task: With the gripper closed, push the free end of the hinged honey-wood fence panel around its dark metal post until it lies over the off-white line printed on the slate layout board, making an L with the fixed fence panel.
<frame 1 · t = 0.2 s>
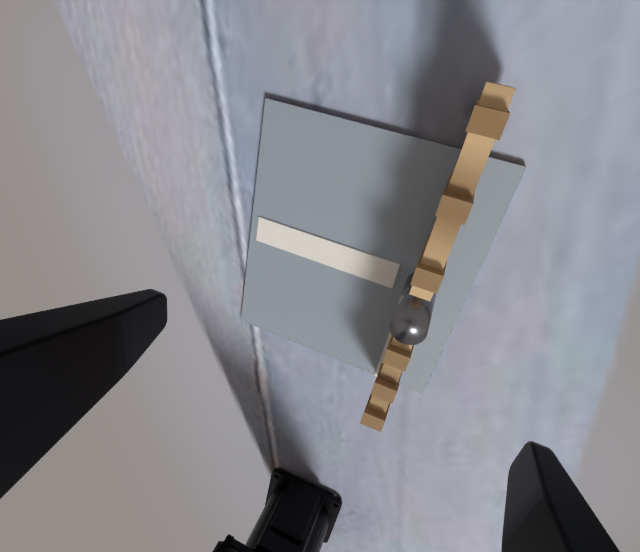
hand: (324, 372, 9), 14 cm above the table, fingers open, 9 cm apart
fence fixed: (400, 339, 25), resting on layout card
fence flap: (457, 196, 17), point 3 cm above the table, hinge at 0.0°
hinge post: (422, 282, 23), resting on layout card
layout card: (353, 258, 24), on the table
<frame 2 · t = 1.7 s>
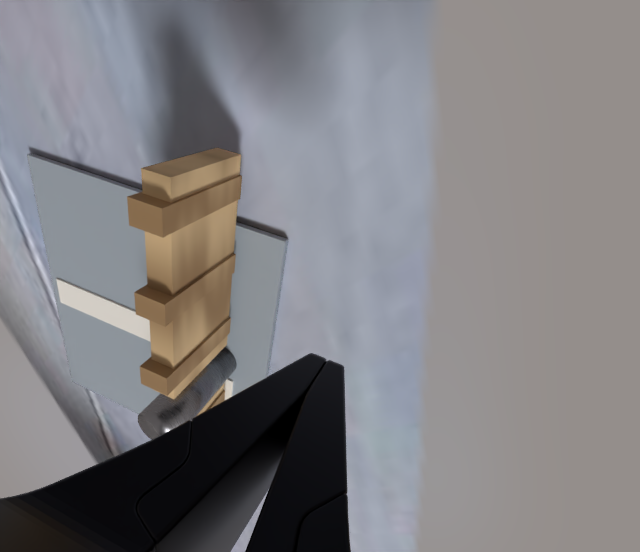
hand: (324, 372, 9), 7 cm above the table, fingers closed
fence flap: (190, 281, 15), point 3 cm above the table, hinge at 0.0°
hinge post: (224, 355, 20), resting on layout card
layout card: (155, 326, 21), on the table
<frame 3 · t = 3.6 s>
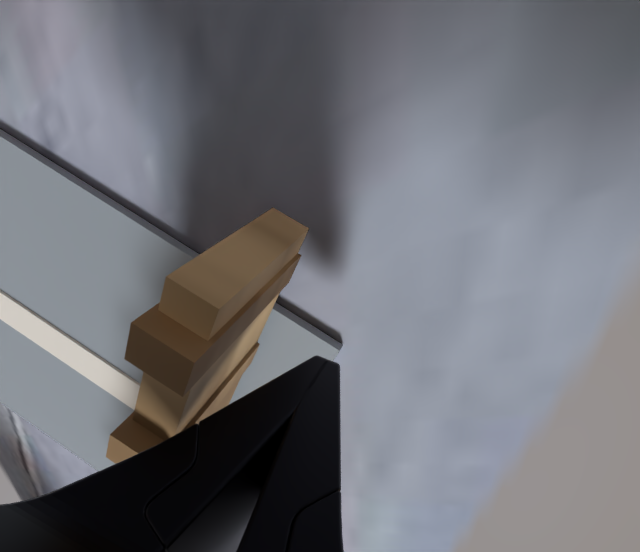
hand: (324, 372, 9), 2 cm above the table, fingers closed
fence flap: (194, 391, 10), point 3 cm above the table, hinge at 1.3°, touching gripper
layout card: (118, 374, 16), on the table
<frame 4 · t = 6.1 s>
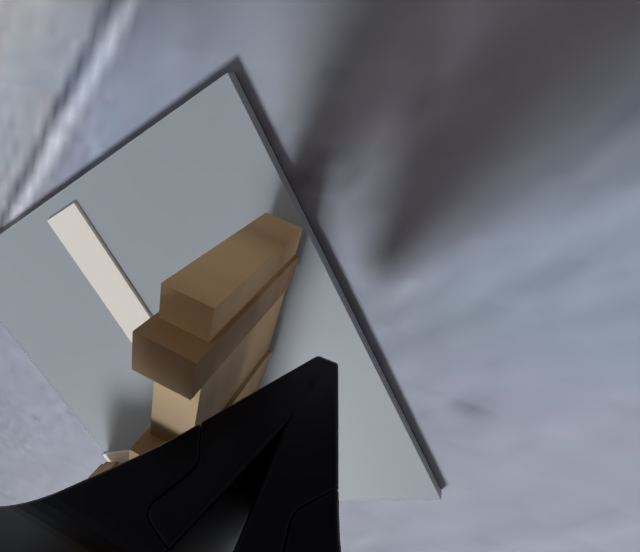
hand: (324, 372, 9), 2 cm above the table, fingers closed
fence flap: (210, 402, 10), point 3 cm above the table, hinge at 46.0°, touching gripper
layout card: (174, 363, 14), on the table
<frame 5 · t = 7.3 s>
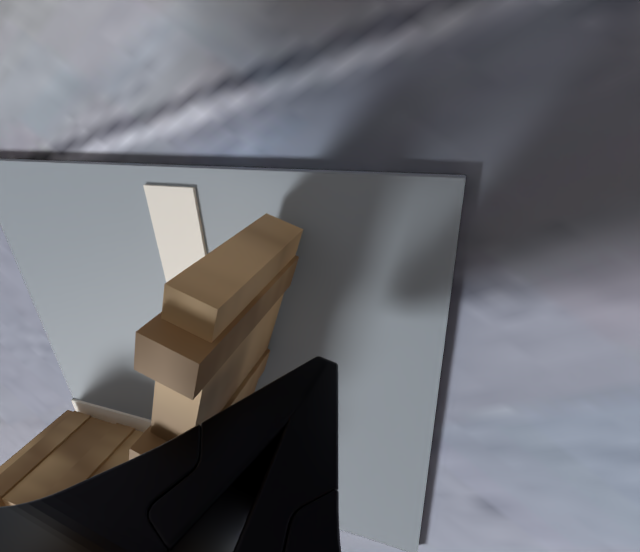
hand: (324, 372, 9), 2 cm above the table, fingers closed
fence fixed: (141, 423, 17), resting on layout card
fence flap: (209, 402, 10), point 3 cm above the table, hinge at 70.5°, touching gripper
layout card: (212, 362, 14), on the table
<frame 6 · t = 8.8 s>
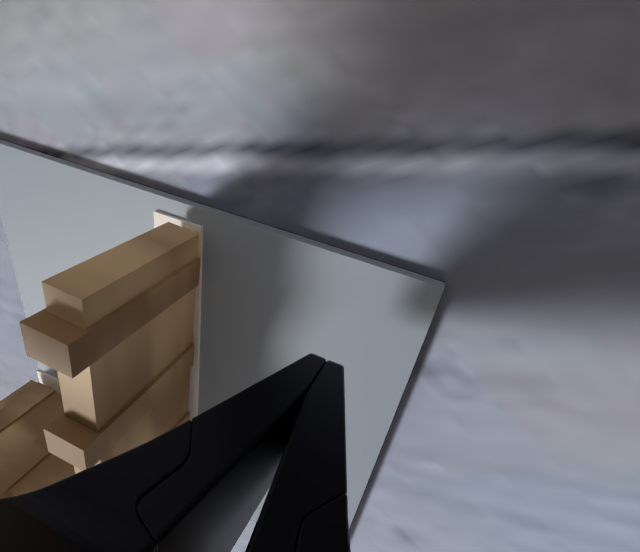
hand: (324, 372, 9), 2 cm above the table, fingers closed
fence fixed: (103, 404, 18), resting on layout card
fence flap: (130, 391, 11), point 3 cm above the table, hinge at 87.6°
layout card: (185, 370, 15), on the table
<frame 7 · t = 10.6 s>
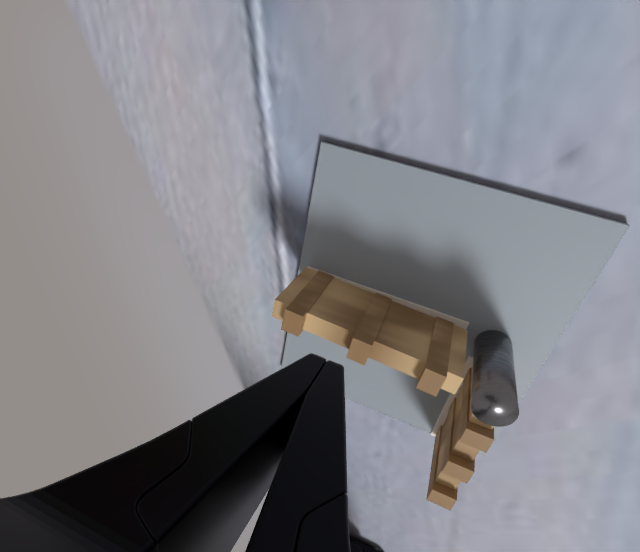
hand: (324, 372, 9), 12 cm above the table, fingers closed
fence fixed: (462, 399, 23), resting on layout card
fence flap: (370, 326, 19), point 3 cm above the table, hinge at 87.6°
hinge post: (492, 341, 21), resting on layout card
layout card: (412, 313, 21), on the table
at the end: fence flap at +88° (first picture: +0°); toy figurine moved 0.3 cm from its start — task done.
